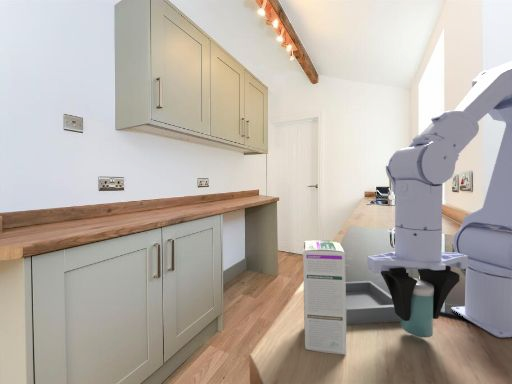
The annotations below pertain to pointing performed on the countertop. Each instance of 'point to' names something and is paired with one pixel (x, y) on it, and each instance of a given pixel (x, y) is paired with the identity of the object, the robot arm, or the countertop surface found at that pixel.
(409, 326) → the shaker
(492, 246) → the robot arm
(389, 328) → the countertop surface
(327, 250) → the syrup box
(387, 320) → the tray
